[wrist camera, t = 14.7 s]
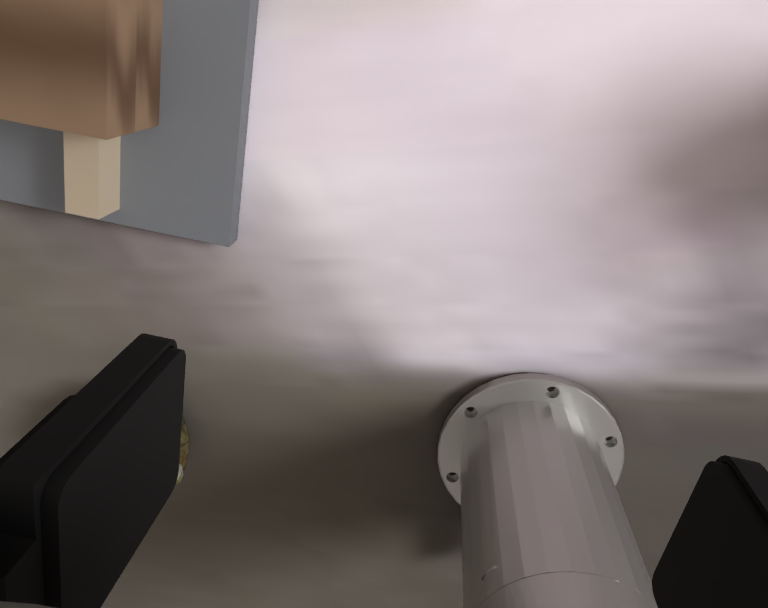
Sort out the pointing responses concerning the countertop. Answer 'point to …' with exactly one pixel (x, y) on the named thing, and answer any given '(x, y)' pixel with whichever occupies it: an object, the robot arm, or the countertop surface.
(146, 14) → the saddle block
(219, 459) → the countertop surface
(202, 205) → the cleat board
